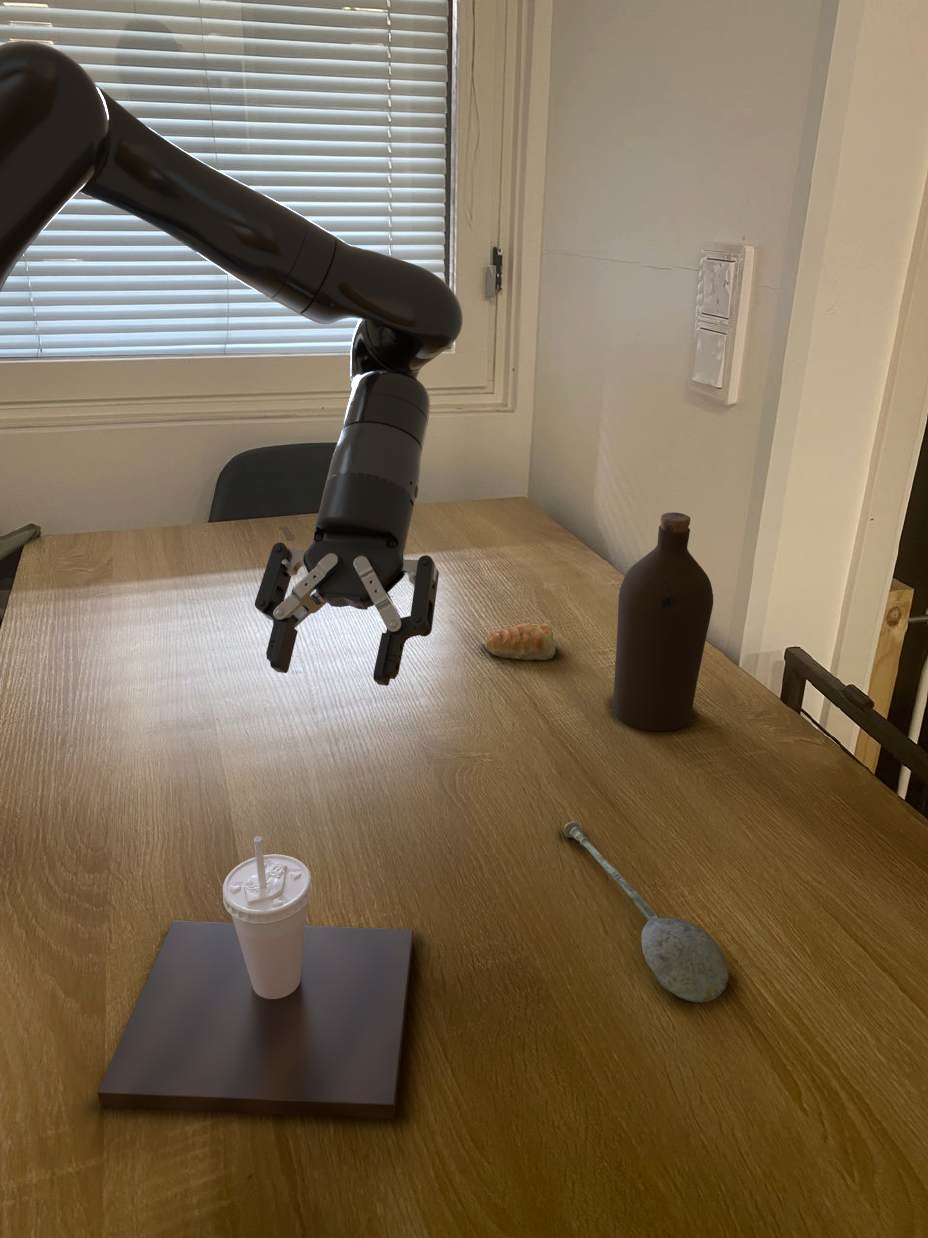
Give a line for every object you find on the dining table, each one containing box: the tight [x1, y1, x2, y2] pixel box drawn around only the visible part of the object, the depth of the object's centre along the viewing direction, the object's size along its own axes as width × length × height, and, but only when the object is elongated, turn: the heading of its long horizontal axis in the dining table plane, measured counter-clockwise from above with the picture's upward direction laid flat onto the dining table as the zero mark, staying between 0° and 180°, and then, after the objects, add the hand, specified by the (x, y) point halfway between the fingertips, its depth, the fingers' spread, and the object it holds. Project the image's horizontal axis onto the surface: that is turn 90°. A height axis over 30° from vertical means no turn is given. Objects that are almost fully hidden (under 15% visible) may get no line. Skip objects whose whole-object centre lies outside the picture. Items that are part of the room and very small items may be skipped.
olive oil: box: [612, 511, 714, 733], centre depth 105 cm, size 11×11×25 cm
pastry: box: [484, 622, 556, 661], centre depth 124 cm, size 9×7×4 cm
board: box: [97, 920, 414, 1120], centre depth 68 cm, size 20×16×2 cm
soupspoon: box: [562, 820, 729, 1004], centre depth 79 cm, size 22×3×7 cm
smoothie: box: [222, 835, 313, 999], centre depth 67 cm, size 6×6×14 cm
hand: (329, 676), depth 71 cm, fingers open, 8 cm apart
